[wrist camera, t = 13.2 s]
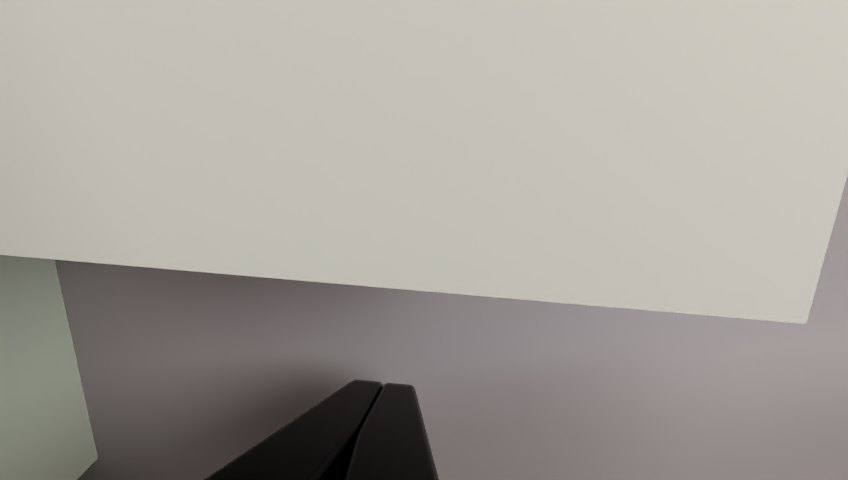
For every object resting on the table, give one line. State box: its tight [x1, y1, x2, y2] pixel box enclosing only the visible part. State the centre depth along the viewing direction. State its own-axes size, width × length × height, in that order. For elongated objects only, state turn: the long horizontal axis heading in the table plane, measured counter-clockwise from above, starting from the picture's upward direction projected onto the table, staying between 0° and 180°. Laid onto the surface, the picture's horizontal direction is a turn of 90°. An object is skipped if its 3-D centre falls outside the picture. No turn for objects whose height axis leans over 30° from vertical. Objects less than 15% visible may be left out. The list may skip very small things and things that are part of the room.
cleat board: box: [0, 0, 848, 324], centre depth 7 cm, size 10×14×5 cm
